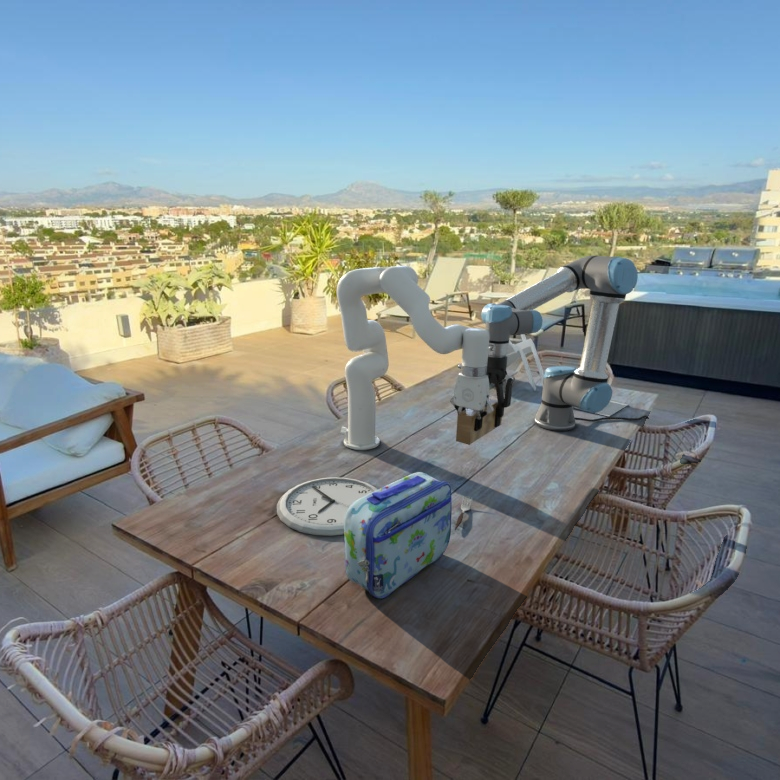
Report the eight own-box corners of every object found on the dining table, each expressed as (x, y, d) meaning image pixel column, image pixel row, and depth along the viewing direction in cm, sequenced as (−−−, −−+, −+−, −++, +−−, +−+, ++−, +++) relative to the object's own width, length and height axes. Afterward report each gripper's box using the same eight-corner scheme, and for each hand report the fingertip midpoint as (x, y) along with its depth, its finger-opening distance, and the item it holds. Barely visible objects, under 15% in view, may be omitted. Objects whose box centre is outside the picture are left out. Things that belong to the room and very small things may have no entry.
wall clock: (392, 527, 129) (268, 531, 127) (391, 533, 130) (269, 537, 127) (383, 473, 158) (282, 475, 155) (383, 478, 158) (282, 480, 156)
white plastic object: (482, 419, 265) (461, 396, 241) (463, 346, 287) (443, 319, 263) (553, 395, 253) (539, 368, 228) (528, 321, 275) (513, 290, 250)
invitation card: (608, 416, 214) (573, 407, 224) (608, 416, 214) (573, 408, 224) (628, 404, 229) (594, 396, 238) (628, 405, 229) (594, 397, 238)
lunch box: (372, 611, 103) (373, 518, 97) (338, 585, 111) (336, 497, 104) (455, 557, 121) (460, 475, 115) (420, 537, 128) (424, 459, 122)
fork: (449, 531, 131) (450, 524, 131) (463, 501, 146) (463, 495, 145) (459, 533, 130) (460, 526, 130) (472, 503, 145) (473, 496, 144)
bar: (488, 421, 176) (490, 395, 174) (501, 424, 174) (503, 398, 171) (455, 441, 160) (457, 413, 157) (469, 445, 157) (471, 416, 154)
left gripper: (442, 368, 157) (439, 424, 162) (494, 378, 147) (489, 438, 153) (455, 363, 162) (452, 418, 168) (505, 373, 153) (500, 431, 158)
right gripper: (465, 352, 167) (460, 420, 174) (516, 361, 157) (510, 433, 164) (476, 348, 173) (471, 414, 180) (526, 357, 163) (519, 427, 170)
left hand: (469, 427), depth 160 cm, fingers closed on bar, 4 cm apart
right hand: (489, 423), depth 172 cm, fingers closed on bar, 5 cm apart
